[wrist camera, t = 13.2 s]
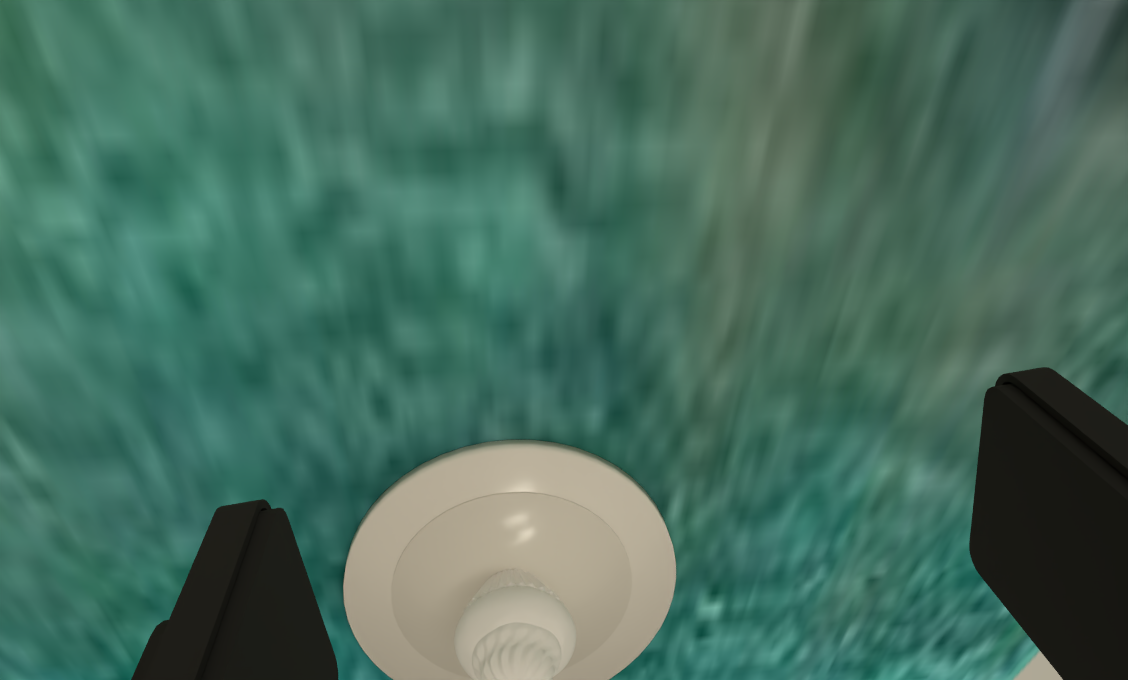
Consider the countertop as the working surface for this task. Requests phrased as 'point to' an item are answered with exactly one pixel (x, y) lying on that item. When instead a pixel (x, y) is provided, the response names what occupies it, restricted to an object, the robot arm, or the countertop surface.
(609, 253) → the countertop surface
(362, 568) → the plate
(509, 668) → the muffin
